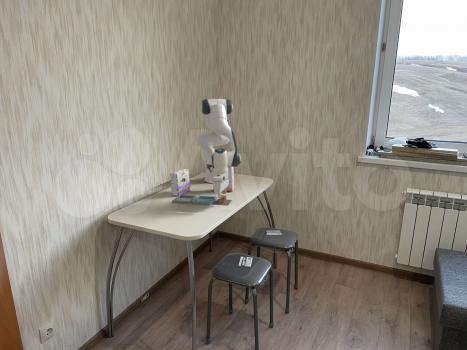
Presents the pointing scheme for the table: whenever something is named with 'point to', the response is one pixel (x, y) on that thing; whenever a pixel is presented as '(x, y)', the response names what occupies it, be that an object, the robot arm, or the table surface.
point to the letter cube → (223, 199)
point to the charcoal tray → (184, 199)
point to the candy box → (180, 182)
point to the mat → (222, 203)
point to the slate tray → (204, 200)
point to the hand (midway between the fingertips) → (222, 196)
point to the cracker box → (231, 179)
